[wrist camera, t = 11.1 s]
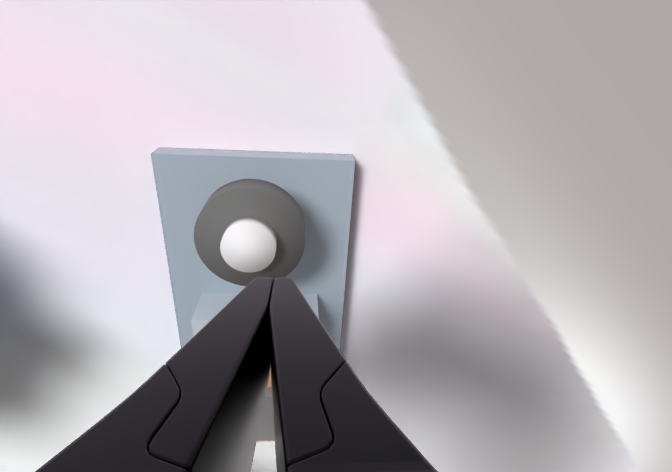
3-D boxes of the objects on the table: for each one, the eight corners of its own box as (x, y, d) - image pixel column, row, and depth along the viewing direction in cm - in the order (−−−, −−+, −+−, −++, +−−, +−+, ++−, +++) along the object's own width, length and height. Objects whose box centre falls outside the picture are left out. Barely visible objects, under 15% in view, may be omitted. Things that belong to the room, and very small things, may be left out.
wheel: (303, 271, 20) (304, 296, 18) (205, 271, 20) (195, 296, 18) (306, 180, 18) (306, 197, 16) (195, 177, 18) (182, 193, 16)
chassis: (335, 373, 28) (340, 418, 25) (192, 376, 27) (177, 423, 24) (352, 154, 21) (362, 175, 18) (159, 147, 20) (130, 168, 17)
